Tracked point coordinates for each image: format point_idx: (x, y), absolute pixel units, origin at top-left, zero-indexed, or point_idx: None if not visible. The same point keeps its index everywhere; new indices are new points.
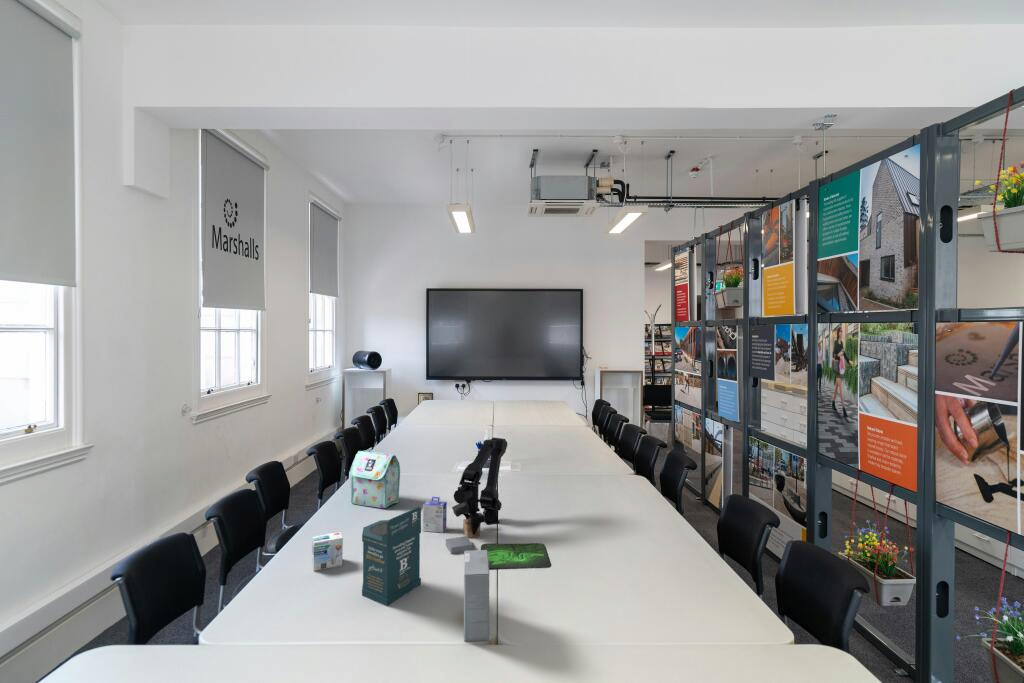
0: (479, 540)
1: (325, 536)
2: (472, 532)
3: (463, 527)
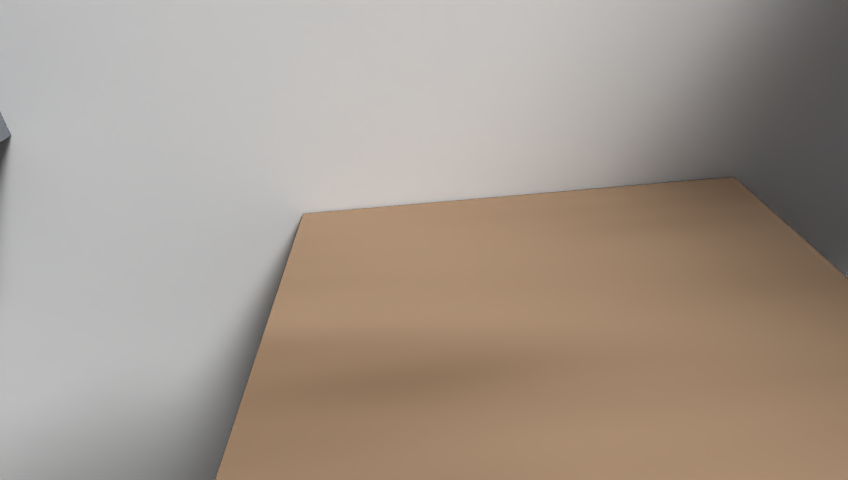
0: (122, 436)
1: None
2: None
3: (828, 286)
